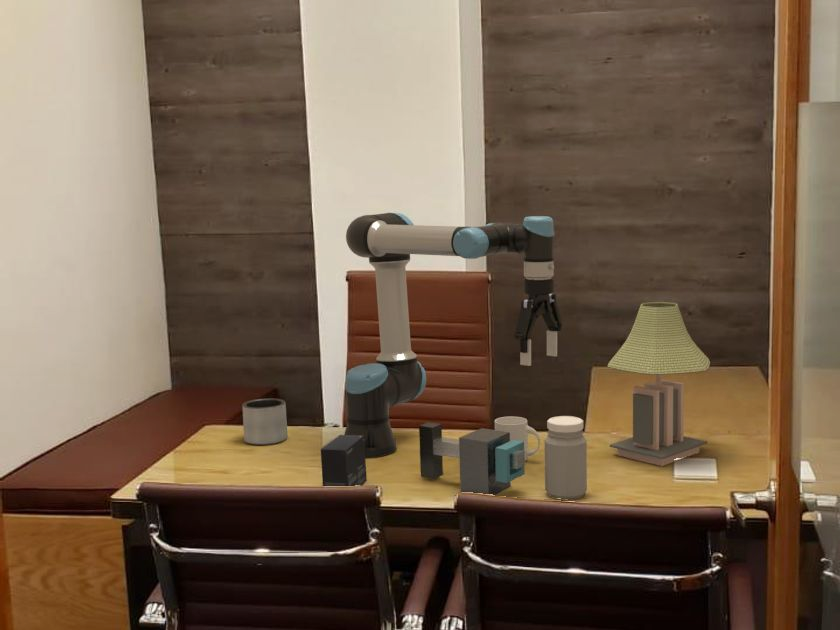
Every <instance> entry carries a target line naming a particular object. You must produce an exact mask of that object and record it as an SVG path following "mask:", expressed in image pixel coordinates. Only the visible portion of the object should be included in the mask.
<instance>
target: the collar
mask: <svg viewBox="0 0 840 630" xmlns="http://www.w3.org/2000/svg"><path fill="white" fill-rule="evenodd" d="M517 450H524V442H523V441H517V440H512V441H510V442H507V443H505V444H503V445H501V446H498V447H496V448H495V461H496V481H499V482H504V483H508V482H510V481H511V482H512V481H513V480H516V479H518V478H519V477H521V476H523V475H525V465H524V466H522V467H520V468H518V469H513V468H510V454H511V453H513V452H515V451H517Z"/></svg>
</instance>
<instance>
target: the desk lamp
mask: <svg viewBox="0 0 840 630" xmlns="http://www.w3.org/2000/svg"><path fill="white" fill-rule="evenodd" d="M679 307H680V306H679V305H678V303H676V302H668V301H667V302H666V301H665V302H664V301H652V302H642V303H641V304H640V306H639V308H638V312H637V315H636V317H635V320H634V323H633V325H632V327H631V331H630V333H629V334H628V336H627V338H626V340H625V342H624V343H623V344H622V346H621V347H620V348H619V349H618V351H616V353H615V355H613V357H612V358H611V360H609V362H608V364H607V367H608V369H613V370H618V371H622V372H628V373H634V374H640V375H651V376H654V375H655V382H650V381H649V382H646V383H644V385H643V386H644V387H643V386H639V385H635V386H633V388H632V389H633V391H632V392H633V394H632V437H629V438H626V439H623V440H620V441H616V442H614V443H611V444H609V448H613V449H616V452H617V453H616V455H617V456H619V457H623V458H628V459H632V460H635V461H640V462H643V463H648V464H653V465H657V466H660V467H663V466H666V465H668V464H671V463H674V462H675V461H674V459H676V458H682V457H685V456H688V457H690V456H689V455H691V454H693V455H695V454H694V453H696V454H698V453H697V452H699V453H700V447H701V446H703V445H706V444H708V441H707V440H702V439H698V438H693V437H690V436H684V426H685V425H684V422H685V421H684V420H685V418H684V416H685V414H684V413H685V408H684V407H685V406H684V405H685V383H684V382H679V381H672V380H667V379H663V375H680V374H691V373H692V374H693V373H699V372H705V371H706V370H707V369H708V368H709V367H710V364H711V362H710V359H709V357H707V355H706V354H705V353H704V352H703V351H702V350H701V348H700V347H698V346H697V344H696V343H695V341H693V339H692V337H691V336H690V334H689V332H688V330H687V327H686V325H685V323H684V319H683V316H682V314H681V311H680V308H679ZM691 456H692V455H691ZM685 458H686V457H685ZM682 459H683V458H682ZM673 461H674V462H673Z"/></svg>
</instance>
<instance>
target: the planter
mask: <svg viewBox="0 0 840 630" xmlns="http://www.w3.org/2000/svg"><path fill="white" fill-rule="evenodd" d="M286 407H287V406H286V400H284V399H280V398H274V397H273V398H269V397H268V398H258V399H252V400H247V401H245V402H243V403H242V423H243V425H242V426H243V427H242V428H243V440H244V442H245V443H247V444H250V445H253V446H270V445H275V444H276V445H277V444H279V443H282V442H284V441H285V440H287V438H288V423H287V408H286Z"/></svg>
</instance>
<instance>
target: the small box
mask: <svg viewBox="0 0 840 630" xmlns="http://www.w3.org/2000/svg"><path fill="white" fill-rule="evenodd" d="M320 457H321V458H320V462H321V463H320V464H321V475H322V487H323V486H355V485H362V486H363V485H364V484H365V483H366V482H367V479H368V478H367V477H368V476H367V465H366V464H367V463H366V458H365V443H364V436H360V435H344V434H339V435H337V436H336V437H335V438H334V439H333V440H332V439H331V441H329V442H328V443H327V444H326V445H324V446H323V447H322V448H320Z"/></svg>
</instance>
